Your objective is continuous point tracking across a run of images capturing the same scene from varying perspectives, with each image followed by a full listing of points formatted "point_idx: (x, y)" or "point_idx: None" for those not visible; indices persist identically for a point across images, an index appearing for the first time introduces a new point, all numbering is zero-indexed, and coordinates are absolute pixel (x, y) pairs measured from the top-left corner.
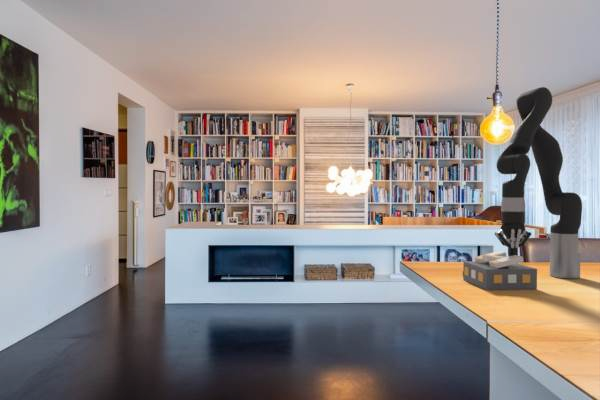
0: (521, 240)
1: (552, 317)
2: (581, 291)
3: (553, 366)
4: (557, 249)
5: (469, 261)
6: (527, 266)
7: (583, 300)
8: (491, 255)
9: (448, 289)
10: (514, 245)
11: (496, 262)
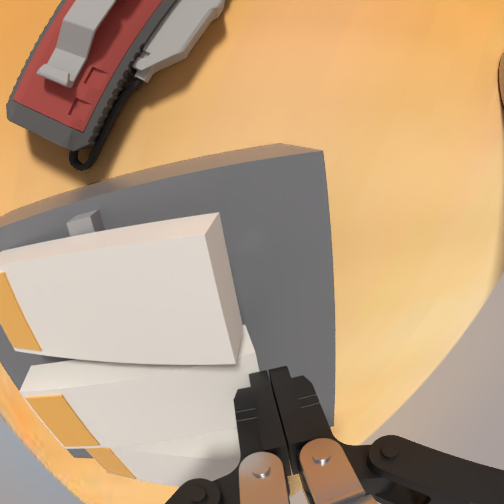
0: (436, 473)
1: None
2: (434, 343)
3: None
4: None
5: None
6: (330, 378)
7: (353, 435)
8: (85, 347)
9: None
10: (304, 489)
11: (113, 473)
